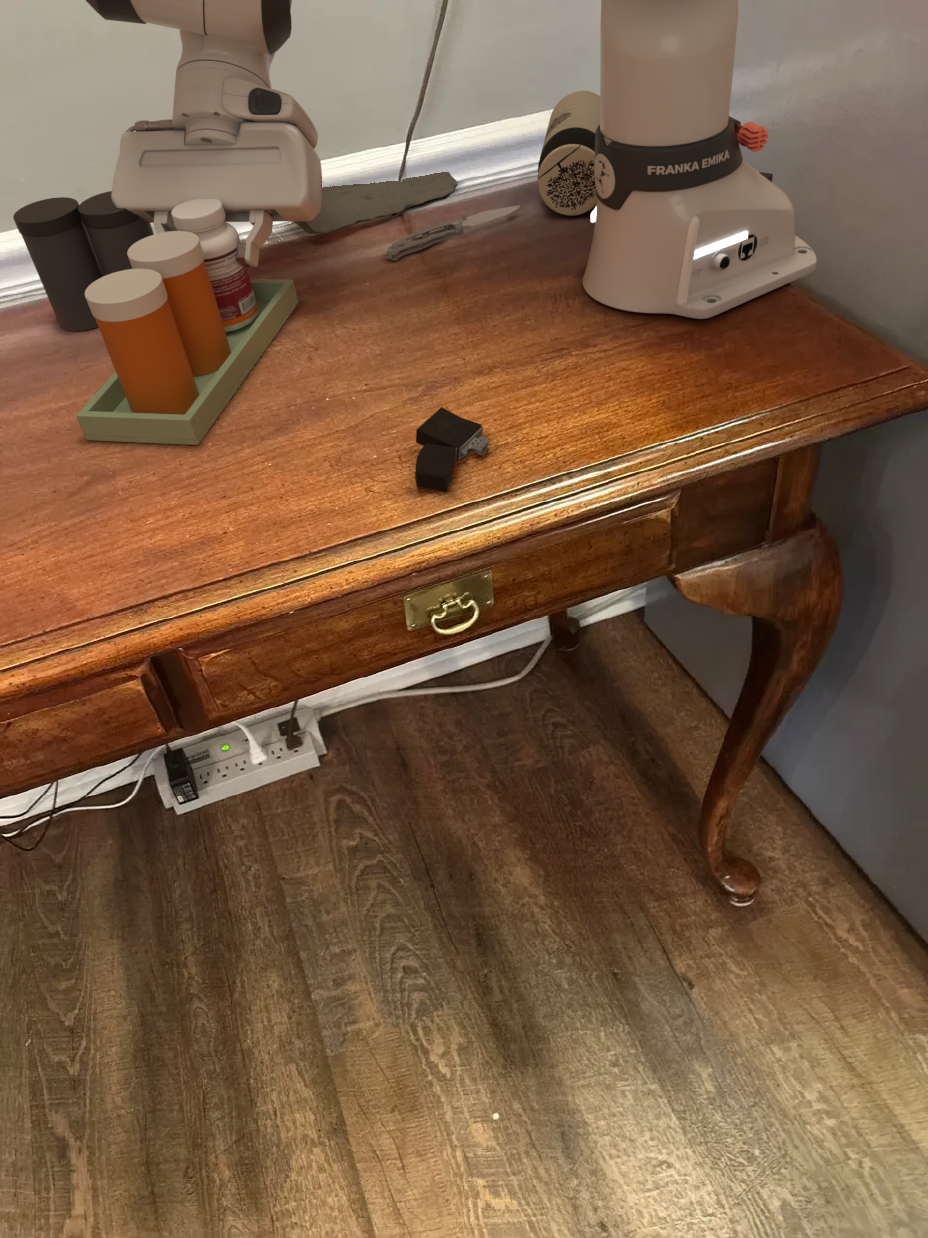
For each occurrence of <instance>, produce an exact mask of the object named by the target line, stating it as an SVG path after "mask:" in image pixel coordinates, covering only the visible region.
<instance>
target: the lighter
mask: <svg viewBox="0 0 928 1238" xmlns="http://www.w3.org/2000/svg"><path fill="white" fill-rule="evenodd" d="M415 432H416V433H415V443H416V444H418V445H420V446H422V448H420V450H419V452H418V454H417V457H416V461H415V467H414V469H415V471H414V474H415V475H414V479H415V485H416V487H417V488H421V489H426V490H427V489H428V490H434V491H440V492H447V493H448V489H449V486H450V481H451V477H452V473H453V471H454V467H455V466H454V465H455V462H459V460H461V459H462V458H464V457H467V455H468V453H470V452H472V453H475V454H477V455H479V456H483V455H484V454H486V452H487V451H488V449H489V447H488V445H489V444H490V443H489V441H490V440H489V437H486V436H483V434H484V433H483V432H484V427H483V424H481V423H478V422H476V421H472V420H469V419H466V418H463V417H461V416H459V415H457V414H456V413H454V412H452V411H450V410H448V409H446V408H445V407H443V406H441V407H440V408H439V409H438V410H436V411H435V412H434V413H433V414H432V415H431V416H430V417H428V418H427V419H426V420H425V421H424V422H423V423H422V424H421V425H419V426H418V428H416V431H415Z"/></svg>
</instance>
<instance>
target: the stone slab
mask: <svg viewBox="0 0 928 1238" xmlns="http://www.w3.org/2000/svg"><path fill="white" fill-rule="evenodd" d="M457 184H458V181H457V179H456V178H454V177H453V176H452V175H451V173H450V172H449V171H448V172H441V173H434V174H430V175H425V176H419V177H412V178H411V177H410V178H406V179H403V180H402V182H398V181H386V182H379V183H375V182H374V183H370V184H353V185H342V186H332V187H331V186H330V187H323V188H322V204H321V210H320V212H319V213H318V214H317V216H316V217H315V218H314V219H313V220H312V221H292V222H293V223H294V224H296V225H297V226H298V227H299V228H301V229H302V230H303V232H305V233H306V234H308V235H320V234H322V235H323V234H328V233H335V232H337V231H341V230H345V229H349V228H350V227H354V226H356V225H358V224H361V223H367V222H371V221H374V220H376V219H380V218H384V217H388V216H390V215H394V214H397V213H400V212H403V211H404V210H406V209H409V208H411V207H414V206H418V205H421V204H424V203H426V202H428V201H432V200H435V199H440V198H443V197H446V196H447V195H449V194H452V193H453V192H455V191H454V190H455V187H456V186H457Z"/></svg>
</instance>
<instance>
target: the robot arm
mask: <svg viewBox="0 0 928 1238" xmlns="http://www.w3.org/2000/svg"><path fill="white" fill-rule="evenodd" d="M85 1H86V3H87V4H88V5H89V6H90V7H91V8H92V9H93V10H94V11H95V12H96V13H97V14H98V16H100V17H101V18H102V19H104V20H106V21H112V22H113V21H114V22H123V23H133V24H141V25H146V24H151V25H155V26H161V27H165V28H171V29H174V30H179V36H180V41H181V56H180V59H179V61H178V63H177V66H176V70H175V78H174V80H175V81H174V93H173V104H172V116H171V117H172V118H171V119H159V120H152V121H151V120H146V119H145V120H138V121H135V122H134V125H132V126H130V127H128V128H127V129H126V130H125V131H124V132H123V133H122V134H121V137H120V142H119V153H118V156H117V160H116V165H115V169H114V174H113V181H112V186H111V191H112V194H111V198H112V202H113V204H114V205H115V207H116V208H126V209H127V210H128V211H130V212H132V213H134V214H136V215H138V216H139V217H141V218H142V219H143V220H144V221H146V222H147V223H150V224H153V226H154V228H155V230H156V232H157V234H158V233H163V232H170V231H178V230H177V229H176V227H175V226H174V222H173V218H172V214H171V212H172V210H173V209H174V208H175V207H176V206H177V205H179V204H182V203H184V202H187V201H190V200H195V199H217V200H220V201H221V203H222V205H223V208H224V211H225V221H224V222H226V223H250V224H251V225H252V228H251V230H250V231H249V233H248V235H247V237H246V238H245V240H244V241H240V242H237V247H236V250H237V253H236V261H237V263H238V264H240V265H241V266H242V267H247V268H257V267H258V265H259V256H260V250H261V249H262V248H263V247H264V245H265V243H266V242H267V241H268V239H269V237H270V236H271V235H272V233H273V228H274V227H273V225H274V222H293V221H312V220H313V219H314V218H315V217H316V216H317V214H318V213H319V212H320V210H321V204H322V183H323V171H322V162H321V159H320V157H319V155H318V154H317V152H316V150H315V149H316V147H317V144H318V139H319V134H318V131H317V128H316V125H315V124H314V122H313V120H312V118H310V116H309V115H308V113H307V112H306V110H305V109H304V108H303V106H301V104H300V103H299V102H298V101H297V100H296V99H295V98H294V97H293V96H292V95H290V94H289V93H286V92H284V91H281V90H276V89H274V88H272V83H271V79H270V70H271V66H272V63H273V62H274V58H275V54H276V53H277V52H278V51H279V50H280V49H281V48H282V46H284V44H286V42H287V41H288V40H289V38H290V37H291V34H292V12H291V9H292V1H293V0H85ZM738 21H739V0H600V30H599V31H600V36H599V37H600V39H599V40H600V44H599V45H600V46H599V47H600V49H599V50H600V52H599V53H600V55H599V57H600V59H599V61H600V62H599V64H600V71H599V74H600V75H599V77H600V78H599V79H600V81H599V83H600V84H599V85H600V86H599V93H600V94H599V96H600V125H599V126H598V127H597V129H596V134H595V189H596V196H597V206H596V208H595V207H594V208H593V210H592V211H591V213H590V223H594V227H593V233H592V241H591V244H590V245H591V247H590V250H589V255H588V260H587V263H586V267H585V270H584V274H583V277H582V287H583V289H584V291H585V292H586V293H587V295H588V296H590V297H591V298H592V299H593V300H595V301H597V302H598V303H601V304H603V305H605V306H607V307H611V308H613V309H617V310H621V311H625V312H632V313H640V314H641V313H642V314H665V315H667V314H669V315H675V316H680V317H685V318H689V319H696V320H707V319H710V318H713V317H715V316H718V315H720V314H722V313H724V312H727V311H729V310H731V309H734V308H735V307H738V306H740V305H742V304H744V303H747V302H750V301H751V300H754V299H757V298H758V297H760V296H763V295H765V294H768V293H770V292H772V291H775V290H777V289H779V288H781V287H784V286H785V285H788V284H789V283H792V282H795V281H797V280H799V279H801V278H803V277H806V276H808V275H810V274H812V273H814V272H816V270H817V265H818V264H817V263H818V259H817V255H816V253H815V251H814V250H813V248H812V247H811V246H810V245H809V244H808V243H807V242H805V241H804V240H803V239H802V238H800V237H799V236H797V235H796V218H795V209H794V206H793V203H792V201H791V199H790V198H789V196H788V195H787V194H786V193H785V192H784V191H783V190H782V189H781V188H779V187H778V186H777V185H776V184H775V183H774V182H773V177H774V175H773V173H770V172H763V171H758V170H757V169H756V168H754V167H753V166H752V165H750V164H749V163H748V162H747V161H746V160H744V159H743V158H744V157H743V154H742V150H741V147H746V148H747V149H748V150H750V151H751V152H756V153H757V152H760V151H761V150H763V148H764V147H765V144H767V143H768V140H767V139H769V135H768V134H769V131H768V130H767V127H765V126H763V125H759V124H757V123H756V122H754V121H746V123H744V124H743V125H742V123H741V121H740V120H738V119H736V118H734V117H732V116H730V107H731V99H732V98H731V97H732V88H733V87H732V86H733V75H734V66H735V65H734V64H735V56H736V55H735V54H736V43H737V32H738ZM740 146H741V147H740Z"/></svg>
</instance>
